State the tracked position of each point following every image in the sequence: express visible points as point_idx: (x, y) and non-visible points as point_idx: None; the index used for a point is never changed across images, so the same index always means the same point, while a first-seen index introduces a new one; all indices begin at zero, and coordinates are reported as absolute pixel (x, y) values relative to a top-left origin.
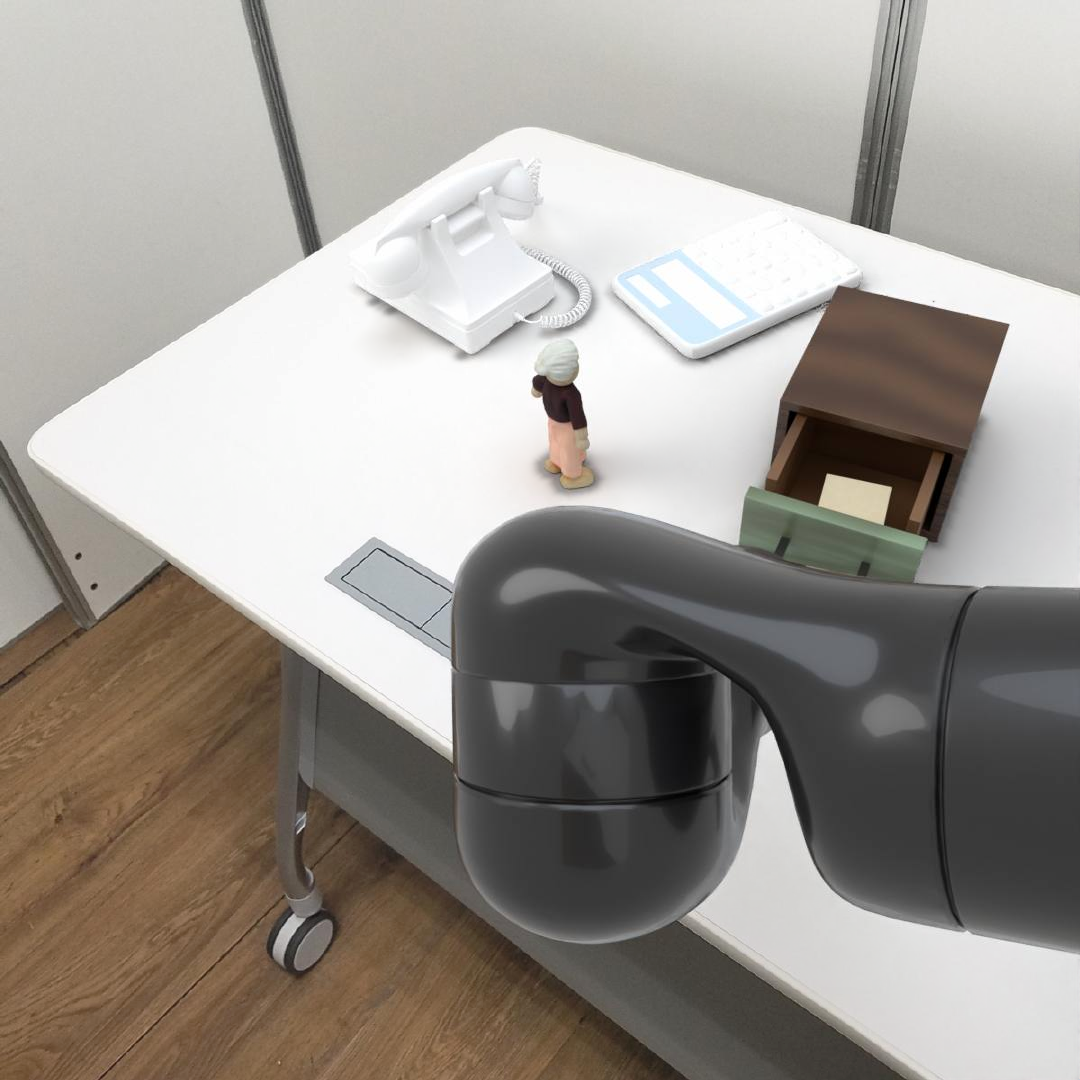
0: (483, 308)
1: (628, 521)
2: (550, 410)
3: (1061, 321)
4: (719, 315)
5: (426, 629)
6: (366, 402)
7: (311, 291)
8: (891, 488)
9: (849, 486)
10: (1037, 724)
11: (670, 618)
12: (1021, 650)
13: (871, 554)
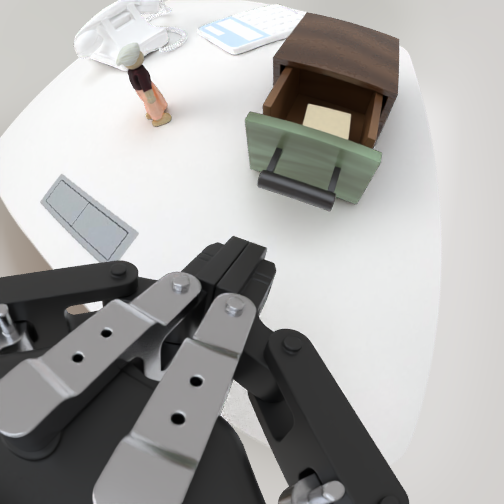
0: None
1: None
2: (132, 84)
3: (406, 54)
4: (249, 36)
5: (73, 226)
6: (76, 104)
7: (74, 67)
8: (350, 114)
9: (323, 112)
10: None
11: None
12: None
13: (342, 162)
